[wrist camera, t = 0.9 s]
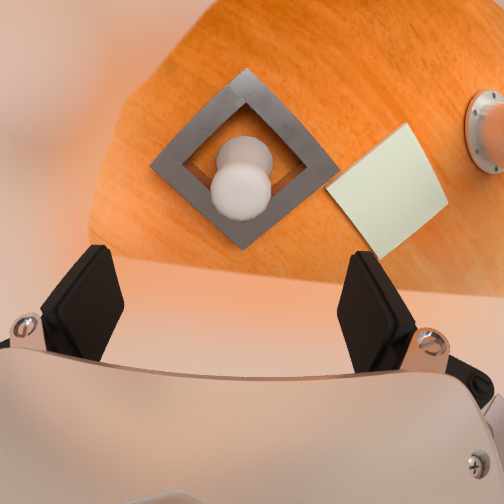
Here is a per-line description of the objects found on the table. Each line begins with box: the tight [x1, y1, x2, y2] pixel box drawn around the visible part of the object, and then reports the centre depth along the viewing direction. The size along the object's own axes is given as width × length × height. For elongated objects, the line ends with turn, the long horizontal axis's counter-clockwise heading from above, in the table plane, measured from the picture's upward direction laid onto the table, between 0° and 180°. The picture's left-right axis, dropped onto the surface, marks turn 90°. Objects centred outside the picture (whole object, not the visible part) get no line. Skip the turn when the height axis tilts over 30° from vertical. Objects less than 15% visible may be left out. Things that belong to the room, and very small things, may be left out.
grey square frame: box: [150, 68, 340, 251], centre depth 29 cm, size 14×14×3 cm
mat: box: [325, 122, 448, 259], centre depth 31 cm, size 13×13×1 cm
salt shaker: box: [210, 135, 273, 221], centre depth 24 cm, size 6×6×13 cm
